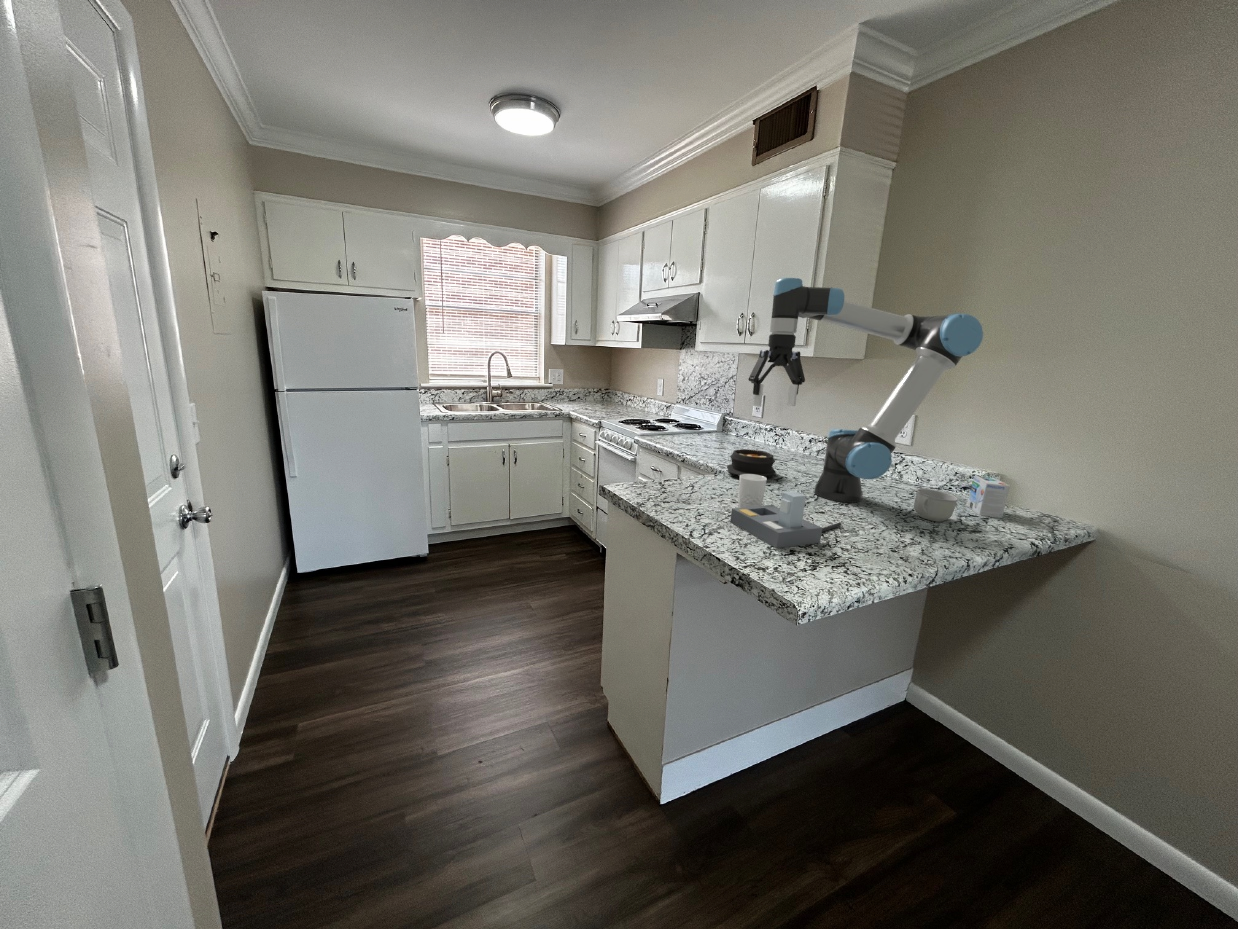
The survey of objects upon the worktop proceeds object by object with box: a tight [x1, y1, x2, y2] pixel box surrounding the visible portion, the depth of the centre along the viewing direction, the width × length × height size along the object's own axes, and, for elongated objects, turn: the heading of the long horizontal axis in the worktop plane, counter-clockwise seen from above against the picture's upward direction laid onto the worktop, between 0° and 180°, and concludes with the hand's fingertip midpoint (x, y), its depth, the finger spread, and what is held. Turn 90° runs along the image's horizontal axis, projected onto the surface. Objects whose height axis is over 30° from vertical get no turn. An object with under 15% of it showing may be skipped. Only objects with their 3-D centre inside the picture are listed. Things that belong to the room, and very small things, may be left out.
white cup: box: [737, 474, 768, 508], centre depth 152 cm, size 8×8×10 cm
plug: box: [778, 490, 807, 529], centre depth 129 cm, size 5×4×12 cm
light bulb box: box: [966, 475, 1011, 519], centre depth 165 cm, size 11×7×11 cm, turn 165°
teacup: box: [913, 488, 959, 522], centre depth 154 cm, size 14×11×8 cm
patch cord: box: [822, 521, 842, 533], centre depth 138 cm, size 16×1×1 cm, turn 128°
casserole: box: [726, 448, 777, 478], centre depth 197 cm, size 25×19×8 cm
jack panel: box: [729, 504, 823, 549], centre depth 135 cm, size 14×19×4 cm
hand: (774, 405), depth 155 cm, fingers open, 13 cm apart
